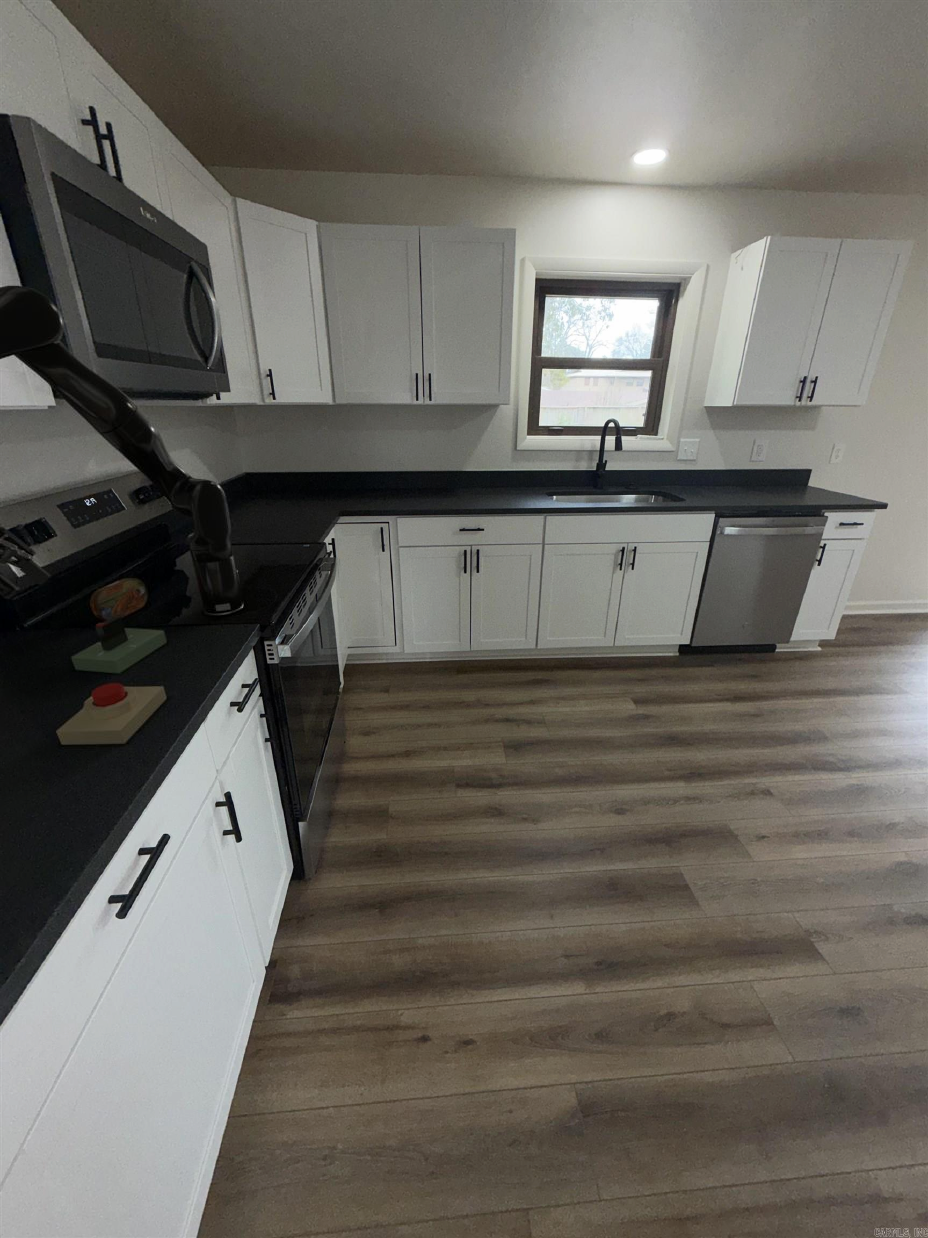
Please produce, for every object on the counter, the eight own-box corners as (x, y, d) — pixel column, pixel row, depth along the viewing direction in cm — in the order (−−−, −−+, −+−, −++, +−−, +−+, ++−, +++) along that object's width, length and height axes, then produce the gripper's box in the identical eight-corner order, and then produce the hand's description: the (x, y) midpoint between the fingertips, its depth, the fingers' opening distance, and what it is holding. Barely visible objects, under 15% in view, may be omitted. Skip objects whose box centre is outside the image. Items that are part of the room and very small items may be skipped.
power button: (106, 693, 85) (102, 683, 85) (131, 692, 86) (128, 682, 85) (88, 707, 81) (85, 697, 81) (116, 707, 82) (112, 696, 81)
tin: (104, 626, 120) (94, 594, 116) (94, 625, 120) (82, 593, 117) (152, 603, 133) (143, 573, 130) (142, 602, 134) (133, 572, 130)
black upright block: (121, 639, 107) (113, 615, 104) (128, 639, 106) (120, 615, 104) (103, 650, 102) (94, 625, 100) (109, 650, 102) (101, 625, 100)
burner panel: (127, 639, 113) (123, 627, 112) (167, 642, 112) (163, 629, 111) (75, 670, 101) (70, 656, 100) (119, 673, 99) (114, 659, 98)
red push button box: (112, 699, 91) (104, 678, 89) (167, 698, 91) (160, 677, 89) (61, 745, 79) (51, 721, 77) (124, 743, 79) (116, 720, 77)
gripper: (-93, 495, 66) (21, 584, 72) (-20, 487, 79) (72, 563, 85) (-134, 531, 66) (-17, 617, 72) (-54, 517, 79) (39, 590, 86)
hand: (31, 587), depth 79 cm, fingers open, 8 cm apart
